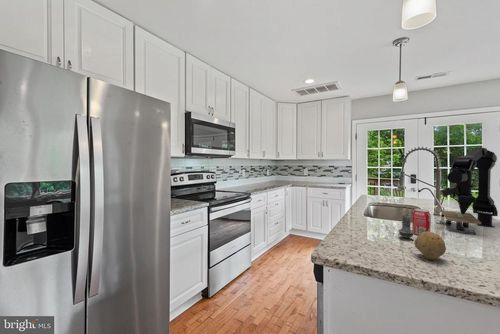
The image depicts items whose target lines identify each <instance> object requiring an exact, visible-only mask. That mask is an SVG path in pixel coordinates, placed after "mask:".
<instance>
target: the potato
mask: <svg viewBox="0 0 500 334" xmlns="http://www.w3.org/2000/svg"><path fill="white" fill-rule="evenodd" d="M413 241H414V247H415V248H416V249H417V250H418V251H419V252H420V253H421V254H422V255H423V256H424V257H425V258H427V259H429V261H430V260H431V261H434V260H436V259H438V258H440V257H441V256H444V254H445V253H446V251H447V247H446V242H445V240H444V239H443V237H441V236H440V235H439V234H438V233H435V232H433V231H430V232H429V231H427V232H423V233H421V234H420V235H417V237H415V240H413Z"/></svg>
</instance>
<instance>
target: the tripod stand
mask: <svg viewBox="0 0 500 334" xmlns="http://www.w3.org/2000/svg"><path fill="white" fill-rule="evenodd" d="M444 223H445V224H444V226H445V227H446V229H447V230H448V232H453V233H461V234H469V235H473V236H474V235H477V232H476V231H475V230H474V229H473V228H472V227H471V226H470V225H469V224H470V223H465V222H456V221H455V222H452V221H448V220H447V219H446V220H445V222H444Z"/></svg>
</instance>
